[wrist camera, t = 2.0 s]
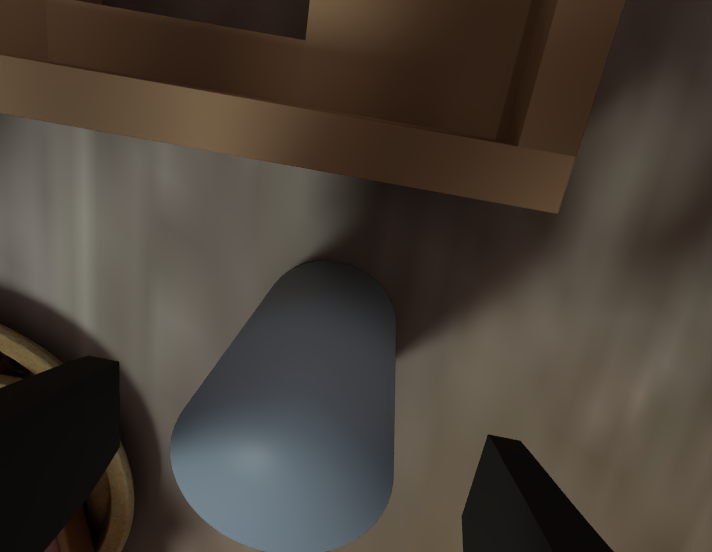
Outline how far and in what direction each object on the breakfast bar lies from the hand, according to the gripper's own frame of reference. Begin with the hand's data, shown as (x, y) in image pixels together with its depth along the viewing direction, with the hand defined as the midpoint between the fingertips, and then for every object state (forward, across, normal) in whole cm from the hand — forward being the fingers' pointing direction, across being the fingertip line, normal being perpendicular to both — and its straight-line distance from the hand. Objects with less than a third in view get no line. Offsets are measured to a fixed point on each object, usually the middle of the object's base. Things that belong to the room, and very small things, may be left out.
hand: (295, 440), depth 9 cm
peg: (+5, 0, 0) cm, 5 cm away
